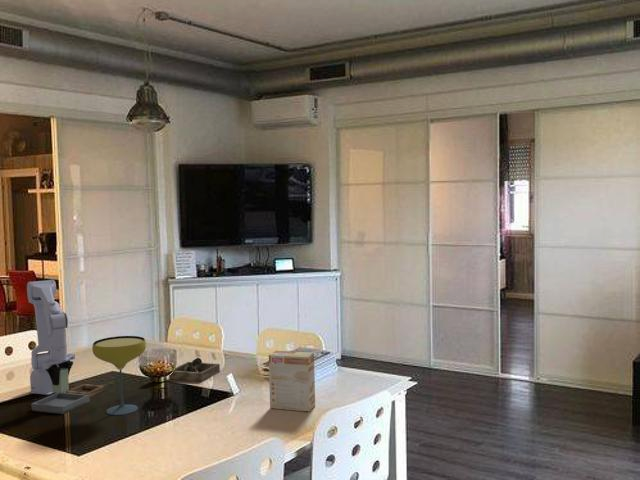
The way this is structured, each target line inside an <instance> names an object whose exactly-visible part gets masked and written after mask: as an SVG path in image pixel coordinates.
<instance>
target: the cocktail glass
mask: <svg viewBox="0 0 640 480" xmlns="http://www.w3.org/2000/svg"><path fill="white" fill-rule="evenodd" d="M146 347H147V342H146V339H145V338H144V337H142V336H137V335H120V336H119V335H118V336H110V337H105V338H101V339H98V340H95V341H94V342H93V343H92V353H93V355H94V357H96V358H97V359H99V360H101V361H104V362H106V363H109V364H112V365H113V366H114V367H115V368H116V369H117V370H119V384H120V385H119V386H120V388H119V389H120V400H119V401H120V402H119V404H118V405H114V406H111V407H109V408H108V409H106V414H107V415H110V416H124V415H129V414H133V413H135V412H136V411H138V409H139V407H138V406H137V405H135V404H125V402H124V394H123V381H122V380H123V379H122V378H123V374H122V370H123V369H125V367H126V365H127V364H128V363H129V362H131V361H133V360H135V359H136V358H138V357H140V356H141V355H142V354H143V353H144V352H145V350H146Z"/></svg>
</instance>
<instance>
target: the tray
mask: <svg viewBox="0 0 640 480" xmlns="http://www.w3.org/2000/svg"><path fill="white" fill-rule="evenodd" d="M90 398H91V397H90V395H84V394H74V393H66V392H63V393H52V394H50V395H47V396H46V397H44V398H42V399H39V400H37V401H34V402H32V403H30V404H31V411H33V412H40V413H41V412H42V413H52V414H62V415H64V414H66V413H69V412H71V411H72V410H75V409H77V408H79V407H81V406H84V405H85V404H87V403H90V402H91V400H90Z"/></svg>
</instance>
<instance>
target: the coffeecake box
mask: <svg viewBox="0 0 640 480" xmlns="http://www.w3.org/2000/svg"><path fill="white" fill-rule="evenodd" d="M315 377H316V375H315V353H314V352H308V351H307V352H305V351H304V352H303V351H288V350H287V351H285V350H275V351H272V353H270V354H268V378H269V379H268V380H269V381H268V382H269V409H273V408H274V409H275V410H284V409H285V410H286V411H295V412H297V411H298V412H305V411H308V412H307V413H309V412H310V411H312V410H313V409H314V408H315V407H316V386H315V385H316V383H315V382H316V381H315V379H316V378H315ZM314 406H315V407H314ZM313 407H314V408H313ZM312 408H313V409H312Z"/></svg>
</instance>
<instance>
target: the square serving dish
mask: <svg viewBox="0 0 640 480" xmlns="http://www.w3.org/2000/svg"><path fill="white" fill-rule="evenodd" d="M191 364H192V361H187V362H185V363H183V364H180V365H179V366H177V367H175V370H174V371H173V373H172V374H171V375H169V374H168V378H169V380H171V379H175V380H174V381H186V382H195V383H196V382H198V383H203V382H205V381H206V380H208V379H210V378H212V377H214V376H215V375H217V374H219V373H220V372H221V370H220V369H221V368H220V366H221V365H220V363H211V362H210V363H209V362H202V363H201V365H200V366H198V367H199V368H198V367H196V368H198V369H197V371H198V372H188V371H185V370H184V367H185V366H187V365H189V366H191Z"/></svg>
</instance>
